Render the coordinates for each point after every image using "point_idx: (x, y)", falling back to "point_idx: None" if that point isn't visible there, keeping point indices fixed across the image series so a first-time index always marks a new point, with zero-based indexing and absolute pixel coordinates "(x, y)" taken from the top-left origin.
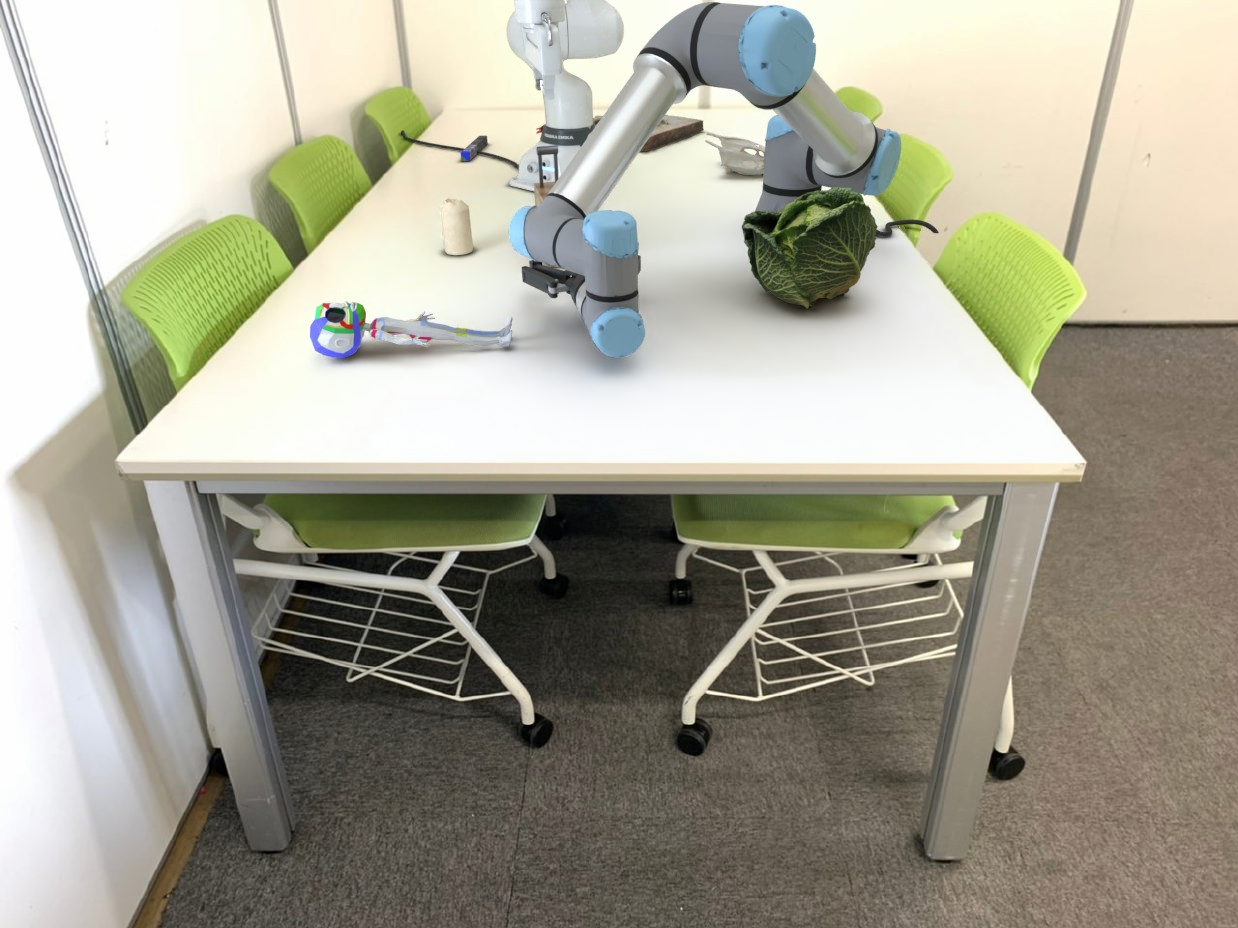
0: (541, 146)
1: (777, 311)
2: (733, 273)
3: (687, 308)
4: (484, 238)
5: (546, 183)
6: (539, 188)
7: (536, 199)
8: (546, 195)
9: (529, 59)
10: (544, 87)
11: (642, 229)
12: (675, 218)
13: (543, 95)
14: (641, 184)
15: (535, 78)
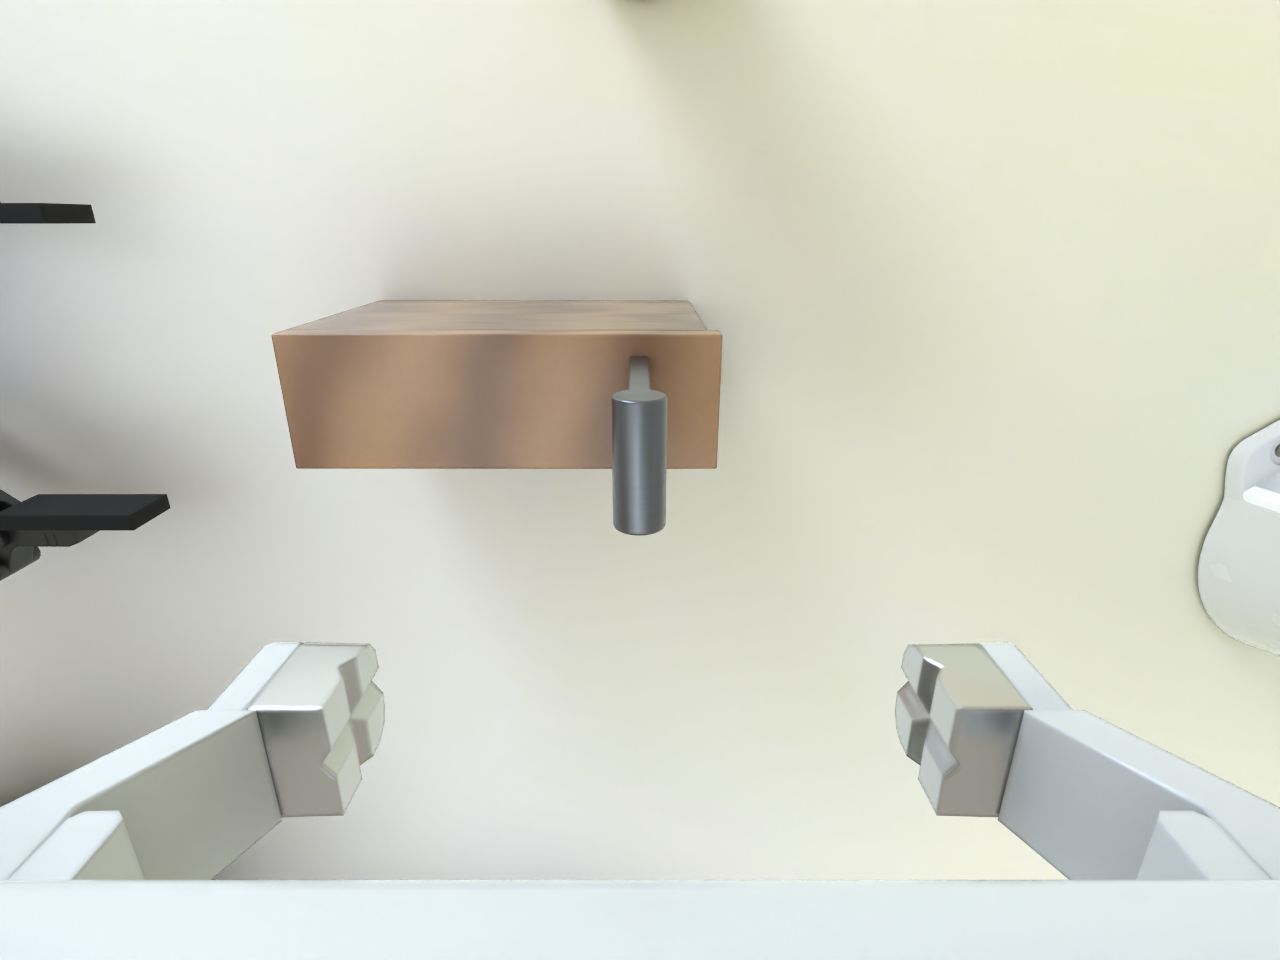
0: (639, 435)
1: (3, 790)
2: None
3: (11, 615)
4: (792, 77)
5: (694, 398)
6: (609, 349)
7: (645, 325)
8: (473, 363)
9: (1227, 945)
10: (166, 735)
11: (703, 659)
12: (778, 766)
13: (329, 655)
14: (1192, 762)
15: (1038, 727)
